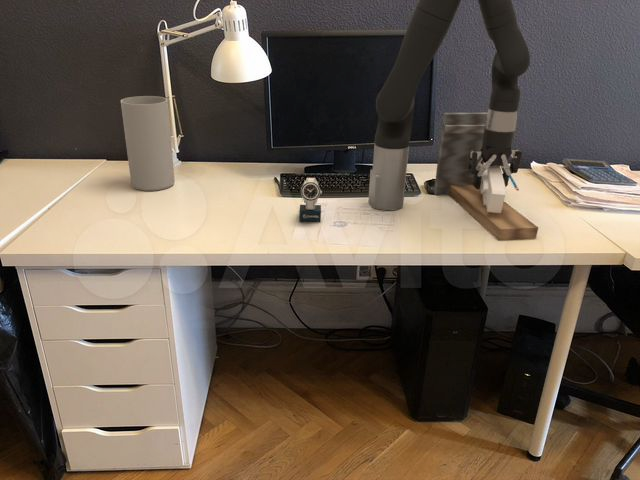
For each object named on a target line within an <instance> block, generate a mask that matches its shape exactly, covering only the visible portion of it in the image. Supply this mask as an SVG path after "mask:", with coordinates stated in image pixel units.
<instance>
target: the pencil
mask: <svg viewBox="0 0 640 480" xmlns="http://www.w3.org/2000/svg"><path fill="white" fill-rule="evenodd" d="M509 180H510V181H511V182H512V185H513V187H514V189H515V190H516V191H519V190H520V188H519V187H518V185H517V184H516V182H515V180H514V178H513V176H512V174H511V175H510V176H509Z"/></svg>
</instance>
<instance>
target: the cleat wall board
mask: <svg viewBox="0 0 640 480" xmlns="http://www.w3.org/2000/svg"><path fill="white" fill-rule="evenodd" d="M487 113H488V111H487V112H443V115H442V116H443V117H442V124H441V125H442V126H441V131H440V132H441V133H440V141H439V150H438V157H437V164H436V165H437V166H436V173H435V181H434V189H433V194H434V195H435V196H449V197H451V198H452V200H454V201H455V202H456V203H457V204H458V205H459V206H460V207H462V208H463V209H464V210H465V211H466V212H467V214H469V215H470V216H471V217H472V218H473V219H474V220H475V221H476V222H477V223H479V224H480V225H481V226H482V227H483V228H484V229H485V230H487V232H489V233H490V234H491V235H492V236H493V237H494V238H495V239H496V240H497V241H513V240H517V241H518V240H530V239H531V240H534V238H536V239H537V236H538V230H539V227H538V226H537V225H536V224H534V223H533V222H532V221H530V220H529V219H528V218H526V217H525V216H524V215H523V214H521V213H520V212H519V211H517V210H516V209H514V207H512V206H511V205H509V204H508V203H507V202H506V201H504V202H503V206H502V210H501V213H492V212H487V207H486V205H483V194H481V191H480V189H476V188H475V187H474V186H473V180H474V174H472V173H470V172H469V171H468V163H469V152H470V150H473V151H480V150H481V148H482V142H483V135H484V129H485V122H486V117H487ZM481 159H482V157H481V155H480V156H479V159H477V166H478V163H479V162H480V160H481ZM477 166H476V167H477Z"/></svg>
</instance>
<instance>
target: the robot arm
mask: <svg viewBox="0 0 640 480" xmlns="http://www.w3.org/2000/svg"><path fill="white" fill-rule="evenodd" d="M461 1H462V0H418V2H417V5H416V7H415V9H414V11H413V13H412V16H411V17H410V18H411V19H410V21H409V24H408V25H407V28H406V31H405V34H404V37H403V39H402V42H401V46H400V49H399V52H398V55H397V58H396V61H395V63H394V65H393V67H392V69H391V71H390V73H389V75H388V76H387V79H386V81H385V83H384V85H383V86H382V88H381V89H380V91H379V92H378V94H377V96H376V100H375V109H376V113H377V114H378V119H377V125H376V126H377V127H376V132H375V136H374V148H373V159H372V168H370V173H369V185H368V187H369V188H368V200H367V201H368V203H369V204H370V206H371V208H373V209H375V210H377V209H378V210H381V211H384V210H385V211H396V210H400V209H401V208H404V207H403V206H404V201H405V187H406V180H407V178H406V177H407V169H408V168H407V167H408V159H409V151H410V139H411V136H412V128H413V120H414V111H415V104H416V103H415V99H416V98H415V94H416V92H417V89H418V86H419V83H420V81H421V79H422V77H423V75H424V73H425V72H426V70H427V68H428V66H429V65H430V64H431V62H432V61H433V59H434V57H435V55H436V54H437V52H438V51H439V49H440V47H441V46H442V43H443V41H444V39H445V37H446V35H447V33H448V32H449V29H450V27H451V25H452V23H453V21H454V18H455V16H456V13H457V11H458V9H459V6H460V3H461ZM477 1H478V5H479V9H480V13H481V16H482V20H483V24H484V28H485V29H486V30H485V31H486V33H487V36H488V37H489V39H490V40H491V41H492V42H493V45H494V47H495V50H496V52H495V54H494V56H493V59H492V65H491V94H490V98H489V106H488V110H487V112H488V113H487V117H486V122H485V129H484V135H483V142H482V148H481V150H480V151H473V150H470V152H469V163H468V171H469V172H470V173H472V174H474V180H473V186H474V187H475V188H476V189H480V186H481V180H482V176H481V175H482V174H483V173H484V171H485V170H487V169H488V167H489V166H495V165H496V166H500V168H501V171H502V175H503V178H504V182H505V189H506V187H508V185H509V180H510V177H509V176H510V175H511V176H512V174H516V173H518V171H519V167H520V163H521V159H522V155H523V152H522V151H521V150H519V149H517V148H516V149H515V148H514V149H512V146H513V144H514V138H515V132H516V127H517V120H518V110H519V105H520V104H519V103H520V99H521V90H520V87H519V85H518V80H519V77H520V76H522V75H525V73H526V72H527V71H528V70H529V67H530V64H531V55H530V50H529V48H528V45H527V43H526V40H525V38H524V35H523V34H522V31H521V30H520V27H519V24H518V21H517V17H516V13H515V12H516V11H515V9H514V4H513V0H477ZM480 155H481V157H482V159H481V160H480V162H479V163H478V166H477V159H479V156H480ZM510 157H511V159H510V164H509V162H508V159H509V158H510ZM484 163H485V164H484ZM476 166H477V167H476Z"/></svg>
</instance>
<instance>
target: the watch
mask: <svg viewBox="0 0 640 480" xmlns="http://www.w3.org/2000/svg"><path fill="white" fill-rule="evenodd" d="M318 183H319V182H318V181H317V180H316V177H306V180H304V182H303V184H302V186H301V189H300V195H301V197H302V199H303V203H304V204H299V211H298V213H299V216H298V218H299V223H321V222H322V221H321V220H322V217H321V216H322V205H321V204H317V202H318V200H319V198H320V195H321V194H323V191H322V190H321V188H320V186H319V184H318Z"/></svg>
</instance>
